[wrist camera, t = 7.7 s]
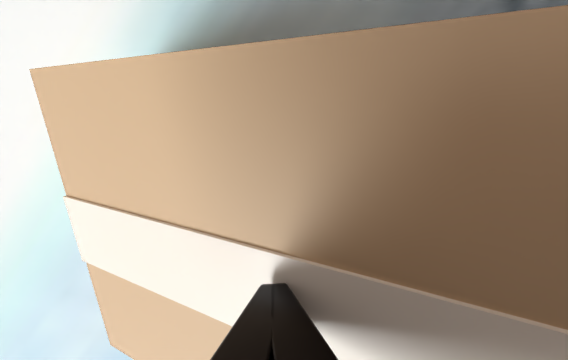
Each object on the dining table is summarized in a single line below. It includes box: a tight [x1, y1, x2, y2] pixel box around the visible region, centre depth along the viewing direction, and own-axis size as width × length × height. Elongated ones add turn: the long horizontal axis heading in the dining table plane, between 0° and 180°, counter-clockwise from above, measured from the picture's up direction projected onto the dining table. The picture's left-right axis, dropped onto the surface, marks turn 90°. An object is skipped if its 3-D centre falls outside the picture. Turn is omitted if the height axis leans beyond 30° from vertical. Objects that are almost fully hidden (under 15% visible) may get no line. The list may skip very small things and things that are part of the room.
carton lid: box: [29, 5, 568, 360], centre depth 8 cm, size 16×12×1 cm
